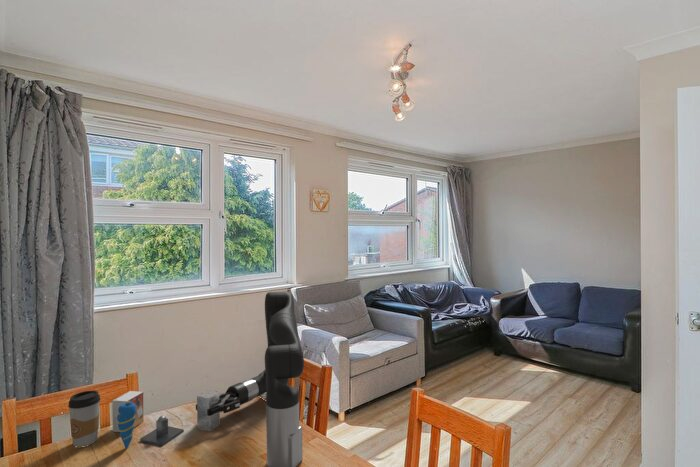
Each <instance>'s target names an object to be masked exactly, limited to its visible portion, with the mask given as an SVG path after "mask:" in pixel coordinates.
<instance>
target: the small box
mask: <svg viewBox="0 0 700 467" xmlns="http://www.w3.org/2000/svg"><path fill="white" fill-rule="evenodd" d="M128 399H129V400H128ZM126 401H129V402H132V403H134V404H135V405H136V413H135V417H136V418H135V421H134V428H136V427H137V426H139V425H141V424H143V422H144V420H145V419H144V417H145V416H144V392H143V391H135V390H134V391H133V390H129V391H127V392H126V393H124V394H122V395H120V396H118V397H117V398H114V399H113V400H112V401H111V403H112V404H111V405H112V407H111V408H112V413H111V414H112V432H113V433H115V432H116V433H120V429H119V427H118V424H119V422H118V420H117V416H118V414H119V412H118V408H119V406H120V405H122V404H124V403H126Z"/></svg>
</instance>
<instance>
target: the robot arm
mask: <svg viewBox="0 0 700 467" xmlns="http://www.w3.org/2000/svg"><path fill="white" fill-rule="evenodd" d="M294 300H295V299H294V296H293V294H292V293H291V292H290V291H269V292H267V293H266V294H265V297H264V318H265V320H264V321H265V329H266V341H267V348H266V350H265V353H264V370H263V371H262V372H260V373H259V374H258V375H257V376H254V377H251V378H248V379H244V380H242V381H240V382H237V383H235V384H233V385H231V386H228V388H227V389H226V391H225V392H222V393H219V405H216V406H214V407H212V408H209V409H208V410H207V415H208V416H211V415H213V414H215V413H218V412H219V413H220V414H221V413H222V412H223V414H227V413H230V412H233V411H236V410H237V409H240V408H241V406H242V405H244V404H247V403H248V402H251V401H252V400H254V399H255V398H258V397H260V396H263V395H264V394H265V398H266V399H265V400H266V402H265V404H266V405H265V407H266V410H265V411H266V413H265V414H266V420H265V423H266V465H267V467H298V465H299V464H300V463H301V461H302V460H303V454H304V453H303V452H304V451H303V426H301V425H300V393H299V390H298V389H297V388H296V387H294V386H291V385H288V383H289V381H290V379H296V378H298V377H300V376H301V375H302V374H303V371H304V369H305V359H304V358H305V357H304V352H303V349H302V346H301V342H300V339H299V332H298V331H299V330H298V324H297V319H296V315H295V301H294ZM215 392H218V391H216V390H215ZM195 410H196V411H197V403H196V404H195Z"/></svg>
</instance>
